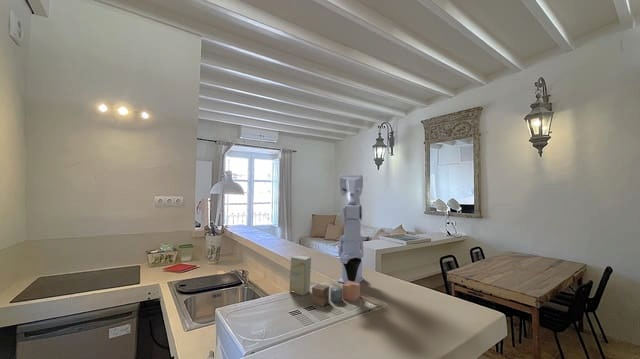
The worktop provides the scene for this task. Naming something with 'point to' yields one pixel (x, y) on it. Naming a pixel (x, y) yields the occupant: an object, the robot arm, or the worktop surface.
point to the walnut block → (320, 294)
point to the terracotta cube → (351, 291)
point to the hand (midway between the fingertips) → (351, 280)
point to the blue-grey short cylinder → (336, 294)
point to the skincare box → (300, 274)
